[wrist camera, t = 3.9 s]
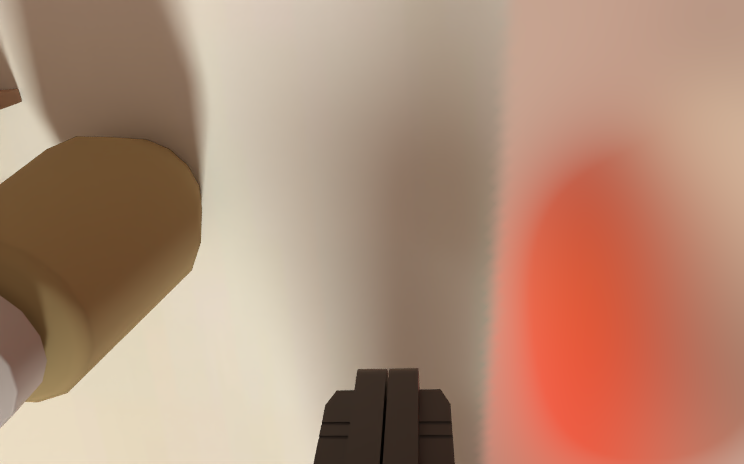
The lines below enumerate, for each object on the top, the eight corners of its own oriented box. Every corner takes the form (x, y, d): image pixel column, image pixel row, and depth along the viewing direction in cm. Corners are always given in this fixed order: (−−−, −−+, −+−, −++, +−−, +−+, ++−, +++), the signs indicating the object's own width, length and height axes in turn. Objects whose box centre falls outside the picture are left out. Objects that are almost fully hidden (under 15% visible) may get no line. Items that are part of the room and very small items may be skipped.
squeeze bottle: (182, 291, 32) (-61, 634, 16) (43, 210, 31) (-382, 498, 14) (253, 175, 29) (43, 456, 13) (103, 80, 28) (-352, 258, 11)
